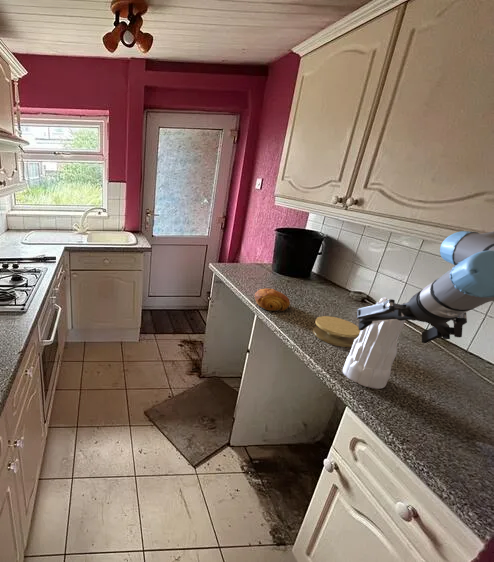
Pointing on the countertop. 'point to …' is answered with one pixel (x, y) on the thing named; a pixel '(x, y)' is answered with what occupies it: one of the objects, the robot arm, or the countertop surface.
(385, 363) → the decorative vase
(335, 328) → the stand
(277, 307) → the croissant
